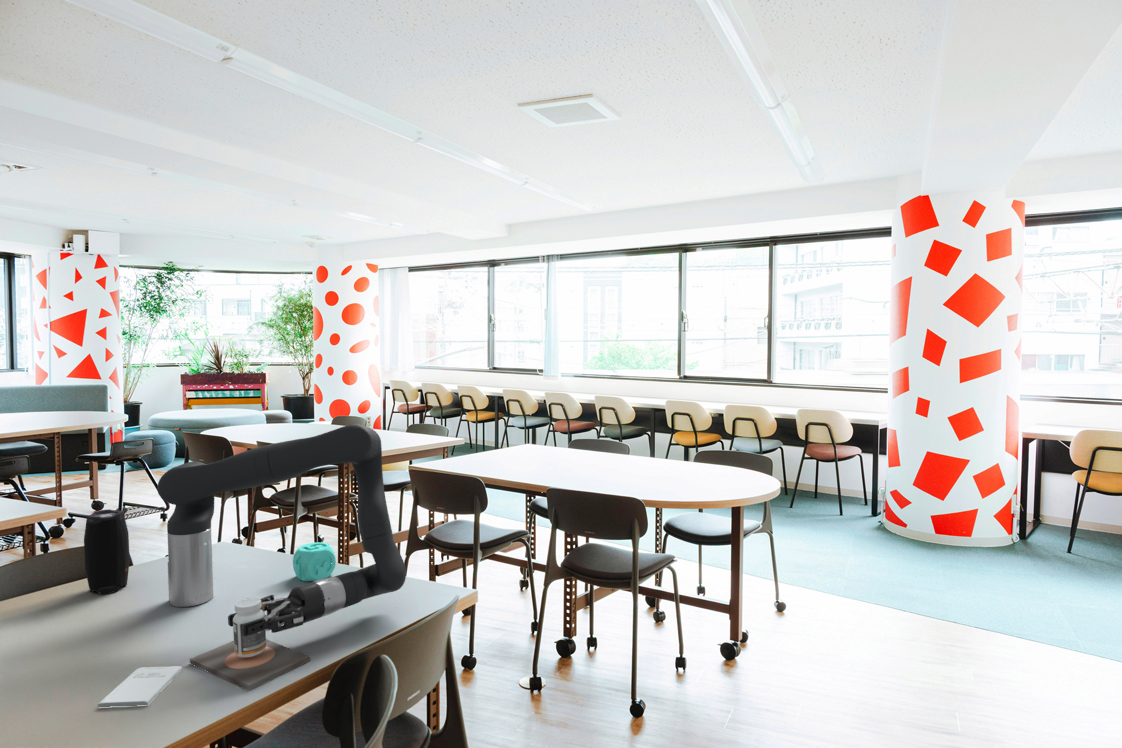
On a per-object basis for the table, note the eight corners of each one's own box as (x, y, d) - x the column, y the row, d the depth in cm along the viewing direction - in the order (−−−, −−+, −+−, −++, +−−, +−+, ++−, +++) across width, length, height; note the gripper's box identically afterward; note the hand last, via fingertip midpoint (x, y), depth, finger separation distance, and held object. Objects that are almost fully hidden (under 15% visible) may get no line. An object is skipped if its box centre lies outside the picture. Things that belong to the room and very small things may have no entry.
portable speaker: (138, 584, 172) (135, 509, 171) (104, 598, 163) (100, 519, 162) (112, 580, 175) (109, 506, 173) (77, 594, 166) (74, 516, 164)
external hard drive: (97, 712, 115) (137, 675, 127) (147, 709, 115) (182, 673, 128) (97, 702, 115) (136, 666, 127) (147, 700, 115) (182, 665, 128)
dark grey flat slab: (189, 663, 130) (189, 658, 130) (251, 638, 141) (251, 633, 141) (249, 690, 120) (249, 684, 120) (310, 660, 131) (310, 655, 131)
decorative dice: (292, 577, 177) (292, 547, 177) (320, 569, 183) (320, 540, 183) (308, 584, 172) (307, 553, 171) (336, 575, 178) (335, 546, 178)
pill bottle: (272, 645, 133) (270, 596, 133) (256, 659, 128) (254, 608, 127) (244, 644, 134) (242, 595, 133) (227, 658, 128) (225, 607, 128)
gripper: (300, 573, 146) (219, 597, 133) (335, 590, 136) (251, 617, 123) (301, 607, 146) (221, 633, 133) (336, 626, 137) (253, 656, 124)
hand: (236, 625), depth 129 cm, fingers closed on pill bottle, 5 cm apart
